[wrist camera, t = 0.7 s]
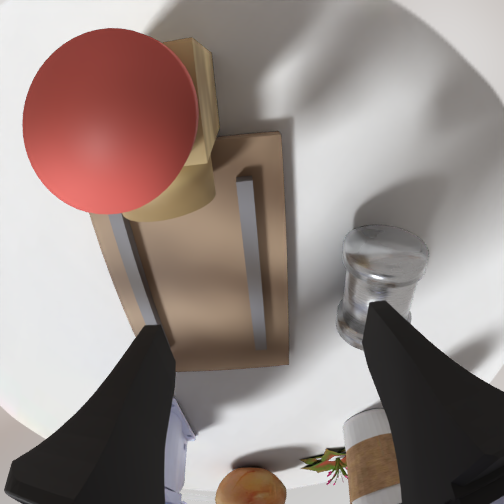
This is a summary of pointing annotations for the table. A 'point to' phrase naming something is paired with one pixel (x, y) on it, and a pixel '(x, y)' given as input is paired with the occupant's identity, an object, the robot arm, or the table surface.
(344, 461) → the lily flower
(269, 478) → the onion
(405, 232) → the pipe coupling
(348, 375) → the table surface
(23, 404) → the table surface
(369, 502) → the coffee cup
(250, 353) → the slider rig
